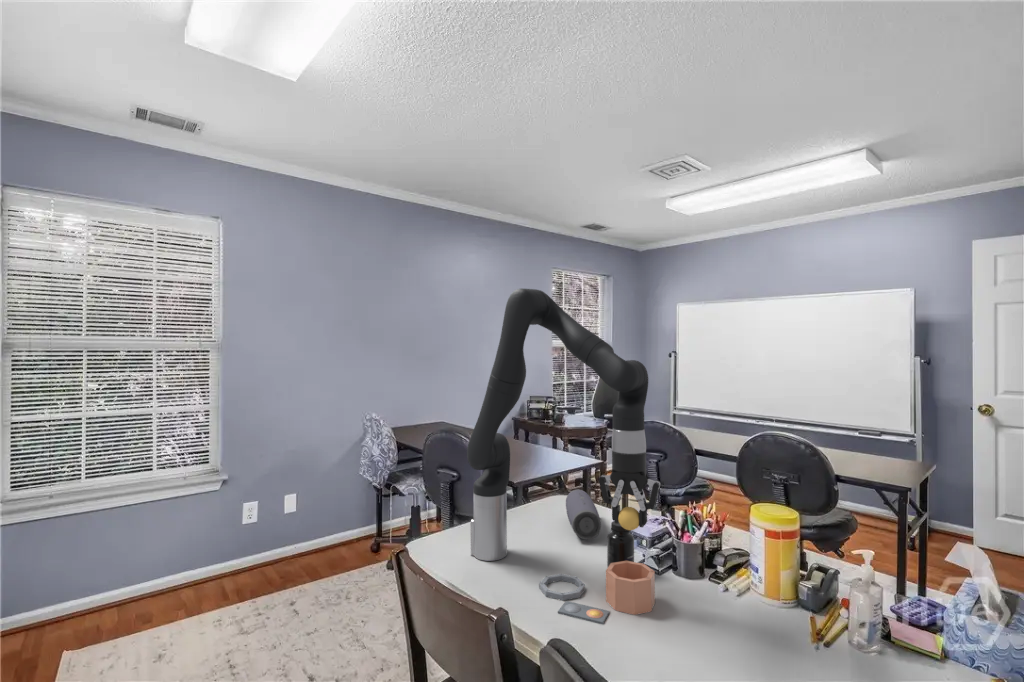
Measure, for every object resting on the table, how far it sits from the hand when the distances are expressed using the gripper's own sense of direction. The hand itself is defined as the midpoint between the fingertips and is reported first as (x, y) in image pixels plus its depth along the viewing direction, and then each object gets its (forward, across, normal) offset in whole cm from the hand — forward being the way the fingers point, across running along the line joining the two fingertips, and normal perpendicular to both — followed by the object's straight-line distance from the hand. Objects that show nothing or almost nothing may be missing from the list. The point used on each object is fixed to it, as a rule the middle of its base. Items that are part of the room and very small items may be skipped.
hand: (629, 524), depth 114 cm
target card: (+18, -8, -9) cm, 21 cm away
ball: (-1, 0, 0) cm, 1 cm away
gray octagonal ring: (+17, -16, -1) cm, 24 cm away
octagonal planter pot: (+18, 0, 0) cm, 18 cm away
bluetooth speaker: (+18, -24, +38) cm, 48 cm away
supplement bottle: (+18, -6, +15) cm, 24 cm away
